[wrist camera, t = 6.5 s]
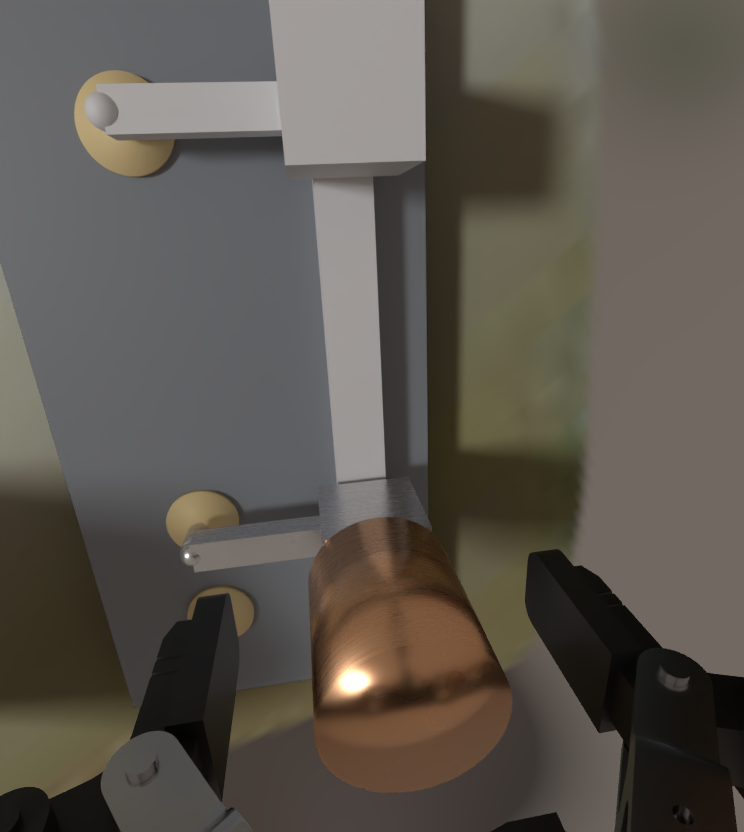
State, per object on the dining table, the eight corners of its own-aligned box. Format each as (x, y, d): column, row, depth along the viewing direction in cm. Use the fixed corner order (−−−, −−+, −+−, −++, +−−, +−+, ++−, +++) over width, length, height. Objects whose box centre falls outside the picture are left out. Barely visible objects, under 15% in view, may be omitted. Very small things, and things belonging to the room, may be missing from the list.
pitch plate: (-56, -39, 12) (-298, -227, 7) (410, -32, 14) (477, -186, 9) (144, 675, 21) (95, 818, 16) (421, 633, 22) (458, 751, 17)
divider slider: (178, 477, 16) (73, 697, 8) (416, 451, 17) (517, 628, 9) (199, 578, 17) (126, 846, 10) (418, 549, 18) (507, 772, 11)
